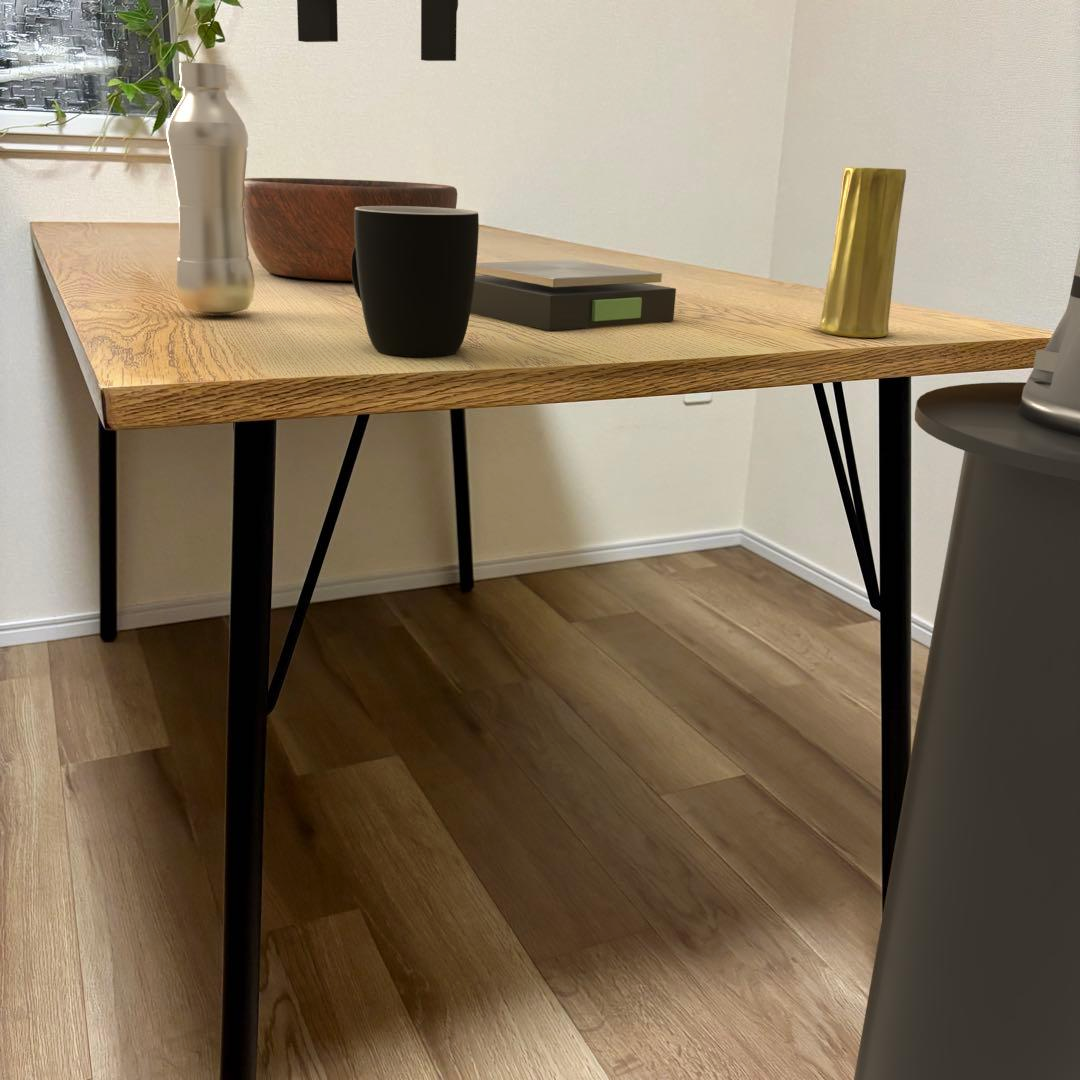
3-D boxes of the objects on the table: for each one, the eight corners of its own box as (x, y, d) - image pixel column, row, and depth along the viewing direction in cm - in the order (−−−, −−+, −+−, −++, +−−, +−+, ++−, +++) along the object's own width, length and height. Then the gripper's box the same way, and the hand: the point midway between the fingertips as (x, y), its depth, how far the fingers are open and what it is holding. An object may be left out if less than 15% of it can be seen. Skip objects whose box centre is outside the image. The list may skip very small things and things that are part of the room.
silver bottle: (214, 306, 99) (200, 67, 92) (272, 314, 96) (262, 68, 89) (160, 314, 93) (141, 60, 87) (220, 322, 90) (205, 61, 84)
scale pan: (661, 282, 101) (662, 273, 101) (553, 287, 93) (553, 278, 93) (572, 267, 111) (572, 259, 110) (466, 271, 103) (467, 263, 103)
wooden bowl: (425, 263, 144) (426, 181, 141) (483, 286, 122) (485, 190, 119) (231, 262, 136) (226, 175, 132) (255, 286, 114) (250, 183, 110)
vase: (891, 340, 96) (916, 169, 91) (820, 335, 97) (841, 166, 92) (883, 330, 102) (906, 169, 97) (816, 326, 102) (836, 166, 98)
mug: (500, 352, 82) (504, 213, 79) (407, 365, 76) (407, 214, 72) (400, 331, 90) (400, 203, 86) (309, 340, 84) (304, 203, 80)
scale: (676, 321, 102) (679, 288, 101) (552, 331, 93) (554, 296, 92) (571, 300, 113) (572, 271, 112) (451, 308, 104) (452, 276, 103)
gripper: (443, -241, 81) (440, 67, 88) (187, -384, 61) (211, 32, 68) (529, -255, 78) (519, 66, 85) (289, -411, 57) (302, 30, 65)
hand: (382, 52), depth 77 cm, fingers open, 13 cm apart
